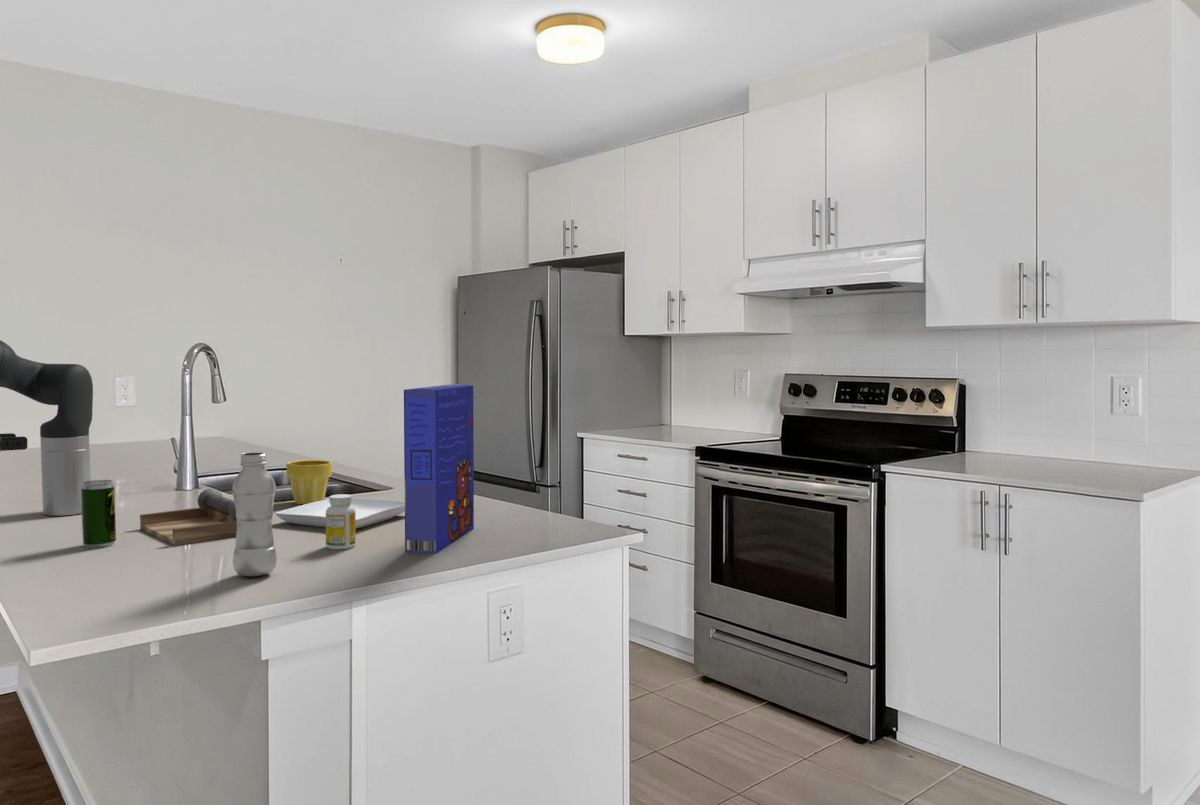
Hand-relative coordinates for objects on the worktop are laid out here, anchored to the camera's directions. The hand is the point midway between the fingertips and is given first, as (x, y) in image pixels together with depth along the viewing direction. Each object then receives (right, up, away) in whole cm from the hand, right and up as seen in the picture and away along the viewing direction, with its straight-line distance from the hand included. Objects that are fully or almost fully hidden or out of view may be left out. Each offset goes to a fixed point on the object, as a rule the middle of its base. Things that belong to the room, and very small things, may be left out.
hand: (21, 441), depth 150 cm
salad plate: (+47, -19, +35) cm, 61 cm away
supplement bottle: (+53, -20, +10) cm, 58 cm away
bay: (+20, -19, +22) cm, 35 cm away
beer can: (+8, -20, +10) cm, 24 cm away
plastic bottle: (+46, -22, -11) cm, 52 cm away
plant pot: (+32, -18, +55) cm, 66 cm away
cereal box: (+71, -20, +16) cm, 76 cm away
